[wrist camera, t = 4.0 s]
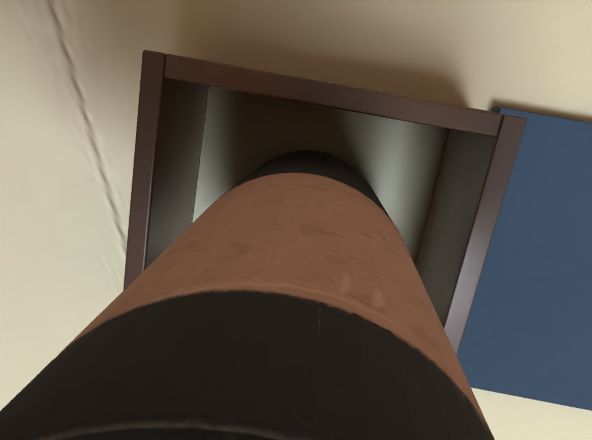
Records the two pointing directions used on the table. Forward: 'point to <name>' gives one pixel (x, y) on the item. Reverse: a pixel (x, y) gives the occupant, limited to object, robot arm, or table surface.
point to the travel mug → (264, 330)
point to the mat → (538, 273)
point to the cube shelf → (460, 120)
